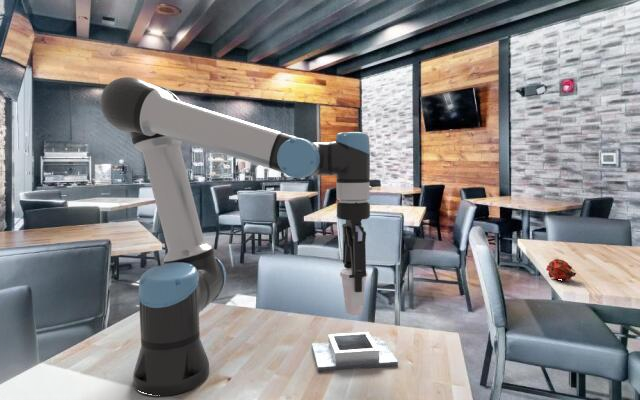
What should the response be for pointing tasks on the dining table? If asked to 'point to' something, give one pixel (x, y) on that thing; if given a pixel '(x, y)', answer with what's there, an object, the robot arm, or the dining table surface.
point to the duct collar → (352, 352)
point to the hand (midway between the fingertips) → (353, 299)
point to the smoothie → (347, 292)
